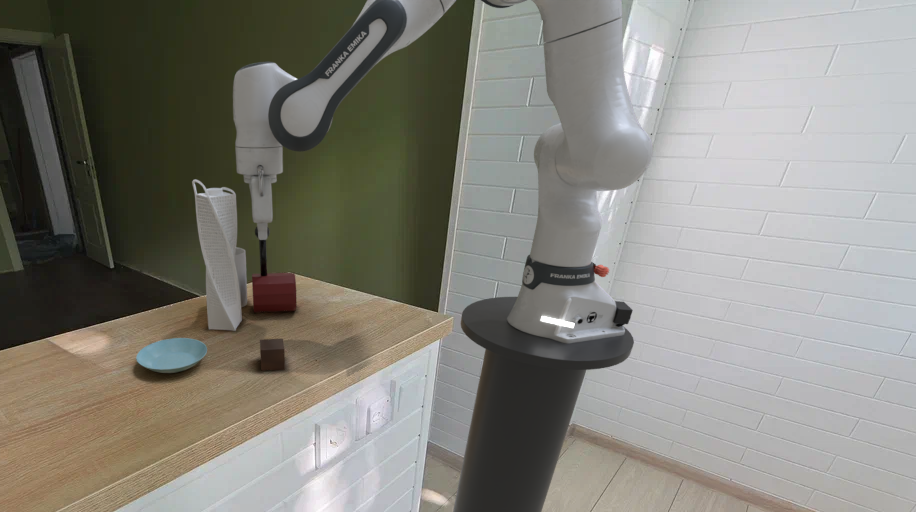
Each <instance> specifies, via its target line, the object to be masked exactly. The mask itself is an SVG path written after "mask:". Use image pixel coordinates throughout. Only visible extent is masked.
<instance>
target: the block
mask: <svg viewBox="0 0 916 512" xmlns="http://www.w3.org/2000/svg"><path fill="white" fill-rule="evenodd" d="M259 351H260V352H259V353H260V354H259V355H260V370H261V372H263V371H267V372H268V371H284V370H286V362H285V361H286V358H285V357H286V355H285V353H286V351H285V343H284V338H267V339H259Z"/></svg>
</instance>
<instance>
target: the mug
mask: <svg viewBox="0 0 916 512" xmlns="http://www.w3.org/2000/svg"><path fill="white" fill-rule="evenodd" d="M246 255H247V254H246V249H244V248H242V247H237V246H236V252H235V259H234V261H235V265H236V270H237V275H238V281H239V289H240V298H241V308H243V307H246V306H247V305H248V282H247V281H248V280H247V256H246Z"/></svg>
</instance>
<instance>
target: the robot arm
mask: <svg viewBox="0 0 916 512" xmlns="http://www.w3.org/2000/svg"><path fill="white" fill-rule="evenodd" d="M480 1H481V2H482V3H484V4H486V5H488V6H489V7H492V8H496V9H507V8H510V7H513V6H515V5H518V4H522V3H525V2H527V0H480ZM622 1H623V0H531V2H533V3H534V5H535V6H536V7H537V9H538V11H539V14H540V17H541V21H542V39H543V41H542V42H543V56H544V57H543V58H544V70H545V83H546V92H547V93H546V94H547V96H548V98H549V100H550V101H551V102H552V105H554V108H555V110H556V113H557V115H558V118H559V121H560V122H558V123H556V124H554V125H551V126H550V127H548V128H547V129H546V130H544V131H543V132H542V134H540V136H539V137H538V139H537V141H536V143H535V145H534V149H533V161H534V164H535V166H536V170H537V175H538V176H537V179H538V182H537V183H538V185H537V188H538V190H537V191H538V192H537V193H538V198H537V199H538V200H537V201H538V204H537V205H538V206H537V207H538V208H537V219H536V224H535V230H534V234H533V239H532V244H531V247H530V253H529V254H528V255H527V256H526V260H525V264H524V269H523V272H522V279H521V285H520V286H521V287H520V289H519V292H518V295H517V296H516V297H517V300H516V302H515V304H514V306H513V308H512V310H511V312H510V314H509V315H508V317H507V321H508V322H509V324H510V325H512V326H513V327H515V328H516V329H518V330H521V331H523V332H526V333H529V334H532V335H536V336H540V337H545V338H550V339H553V340H556V341H559V342H562V343H568V344H569V343H576V342H583V341H589V340H596V339H602V338H608V337H615V336H621V335H624V333H625V329H624V327H625V326H624V325H629V322H630V320H631V317H632V313H633V309H632V307H630V306H629V304H627V303H626V302H625V301H621V300H620V301H618V300H615V299H614V298H613V297H612V296H611V295H610V294H609V293H608V292H607V291H606V290H605V289H604V288H603V287H602V286H601V285H600V284H599V283H598V282H597V281H596V277H595V276H599V277H601V278H605V277H607V276H608V275H609V273H610V268H609V267H607V266H604V265H603V264H597V265H596V263H594V262H593V257H594V254H595V251H596V247H597V243H598V240H599V236H600V234H601V229H602V225H603V224H602V223H603V220H602V216H601V214H600V211H599V207H598V197H597V194H598V193H597V192H609V191H618V190H622V189H625V188H628V187H630V186H632V185H633V184H635V183H636V182H637V181H638V180H640V178H642V176H643V175H645V173H646V171H647V169H648V168H649V166H650V164H651V162H652V158H653V154H654V145H653V141H652V138H651V137H650V136H651V135H649V133H648V132H647V131H646V130H645V129H644V127H642V125H641V124H640V122H639V120H638V117H637V115H636V112H635V109H634V106H633V103H632V100H631V96H630V94H629V93H630V92H629V90H628V86H627V85H628V84H627V81H626V76H625V69H624V49H623V48H624V42H623V17H622V16H623V2H622ZM456 2H457V0H366V2H365V4H364V6H363V7H362V10H361V11H360V13H359V14H358V16H357V17H356V19H355V21H354V22H353V24H352V25H351V27H350V28H349V29H348V30H347V31H346V32H345V34H344V35H343V36H342V37H341V38H340V39H339V41H337V43H336V44H335V45H334V46H333V47H332V48H331V50H329V52H327V54H326V55H325V56H324V58H322V60H320V62H319V63H318V64H317V65H316V66H315V67H313V69H312V70H311V71H310V72H308V73H307V74H305V75H304V76H302V77H300V78H297V77H295V76H293V75H291V74H290V73H288V72H286V70H283V69H282V68H281V67H280V66H279V65H278V64H277V63H276V62H274V61H259V62H254V63H249V64H247V65H244V66H241V67H240V68H239V69H238V70H237V71H236V73H235V75H234V78H233V84H232V117H233V119H232V120H233V123H234V126H235V131H236V133H235V134H236V136H235V142H234V149H235V164H236V165H235V166H236V173H237V174H239V175H242V176H243V182H244V183H245V184H248V187H249V192H250V199H251V215H252V216H251V217H252V222H253V223H254V224H256V227H257V228H258V238H257V239H258V241H259V240H266V241H267V240H268V238H267V227H268V225H269V224H270V223H272V222H273V217H274V215H273V214H274V213H273V212H274V211H273V187H272V184H275V183H277V181H278V180H277V179H278V178H277V175H280V174H282V173H284V155H283V153H284V152H283V151H284V149H283V148H285V149H287V150H289V151H293V152H300V153H301V152H306V151H310V150H313V149H314V148H315V147H317V146H319V144H320V143H321V142H322V141H323V140H324V139H325V137H326V135H327V133H328V132H329V130H330V129H331V127H332V124H333V120H334V114H335V112H336V111H337V109H338V108H339V106H340V104H341V103H342V102H343V100H344V99H345V98H346V97H347V96H348V95H349V94H350V93H351V92H352V90H353V89H354V88H355V87H356V86H357V85H358V84H359V83H360V82H361V81H362V80H363V79H364V78H365V77H366V76H367V74H368V73H369V72H371V70H372V69H373V68H374V67H375V66H376V65H377V64H379V62H381V61H382V60H384V59H385V58H386V57H388V56H389V55H392V54H393V53H395V52H397V51H399V50H402V49H404V48H407V47H408V46H410V45H411V44H412V43H414V42H415V41H417V40H418V39H419V38H420V37H421V36H423V35H424V34H425V33H426V32H427V31H428V30H430V29H431V28H432V27H433V26H434V25H435V24H436V23H437V22H438V21H439V20H440V19H441V18H442V17H443V16H444V15H445V13H447V12H448V10H449V9H450V8H451V7H452V6H453V5H454V4H455V3H456ZM268 228H269V227H268ZM623 326H624V327H623Z"/></svg>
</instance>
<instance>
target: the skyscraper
mask: <svg viewBox="0 0 916 512" xmlns="http://www.w3.org/2000/svg"><path fill="white" fill-rule="evenodd" d="M191 184H192V188H193V192H194V202H195V215H196V227H197V233H198V241H199V244H200V250H201V255H202V257H203V258H202V259H203V260H204V261H203V262H204V265H205V292H206V293H205V294H206V295H205V296H206V297H205V299H206V313H207V326H208V327H207V328H208V330H217V331H218V330H220V331H233V332H236V330H237V329H238V327H239V325H240V323H241V322H243V313H242V307H241V298H240V289H239V281H238V275H237V270H236V265H235V261H234V259H235V252H236V247H237V242H238V207H237V194H236V192H235V191H234V190H233V189H231V188H229V187H227V186H222V187H210V188H207V187H206V185H204V183H203V182H202V181H201V180H199V179H196V178H195V179H193V180H192V181H191ZM196 184H199V185H200V186H201V187H202V188H203V191H204V192H201V193H200V192H199V193H198V191H197V186H196ZM226 191H227V192H226Z"/></svg>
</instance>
